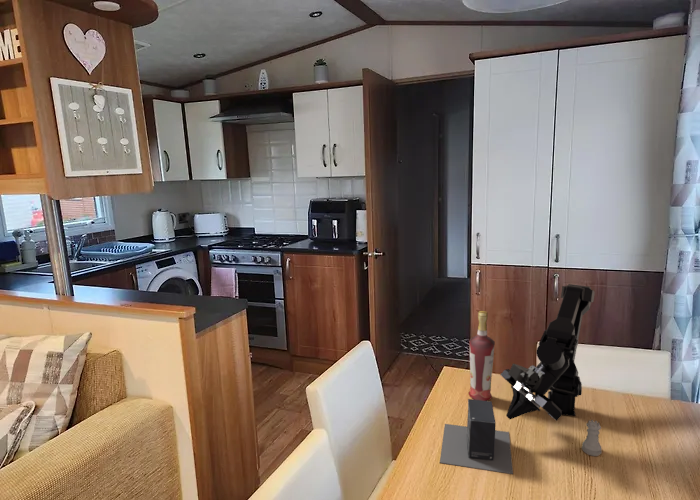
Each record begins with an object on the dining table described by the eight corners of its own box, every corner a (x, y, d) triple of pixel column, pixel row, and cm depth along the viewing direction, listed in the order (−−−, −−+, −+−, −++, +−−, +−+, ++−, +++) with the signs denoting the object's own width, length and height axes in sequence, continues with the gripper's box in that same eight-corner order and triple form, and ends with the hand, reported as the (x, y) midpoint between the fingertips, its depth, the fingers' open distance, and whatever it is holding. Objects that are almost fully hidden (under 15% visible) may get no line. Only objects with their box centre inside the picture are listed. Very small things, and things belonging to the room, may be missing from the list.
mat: (508, 432, 123) (508, 432, 123) (513, 474, 107) (513, 473, 107) (444, 424, 128) (444, 423, 128) (439, 463, 112) (439, 462, 112)
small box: (495, 461, 112) (497, 422, 109) (468, 458, 113) (469, 420, 111) (491, 436, 122) (492, 400, 120) (466, 433, 123) (467, 398, 121)
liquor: (490, 407, 136) (493, 317, 131) (465, 402, 139) (468, 314, 134) (494, 395, 143) (497, 310, 137) (470, 390, 146) (472, 307, 140)
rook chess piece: (599, 447, 116) (602, 419, 114) (603, 458, 112) (605, 429, 110) (580, 444, 118) (582, 416, 116) (582, 455, 113) (585, 426, 112)
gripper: (508, 340, 124) (470, 383, 124) (554, 370, 107) (510, 420, 106) (531, 363, 128) (495, 405, 127) (580, 396, 110) (538, 445, 110)
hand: (508, 417), depth 118 cm, fingers closed
